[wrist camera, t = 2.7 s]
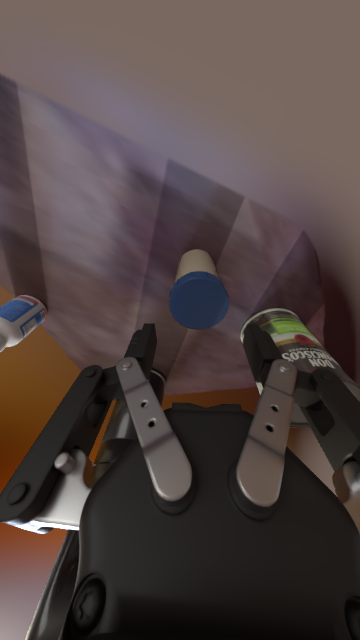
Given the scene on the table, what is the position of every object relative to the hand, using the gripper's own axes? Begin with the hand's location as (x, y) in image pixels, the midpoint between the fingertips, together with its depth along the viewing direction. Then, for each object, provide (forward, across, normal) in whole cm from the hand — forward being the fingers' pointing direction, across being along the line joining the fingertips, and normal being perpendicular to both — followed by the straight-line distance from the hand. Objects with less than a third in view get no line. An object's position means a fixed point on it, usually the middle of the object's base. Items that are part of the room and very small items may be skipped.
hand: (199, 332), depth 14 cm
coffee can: (+15, +13, -12) cm, 24 cm away
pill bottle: (+15, -29, -7) cm, 33 cm away
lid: (+5, 0, 0) cm, 5 cm away
